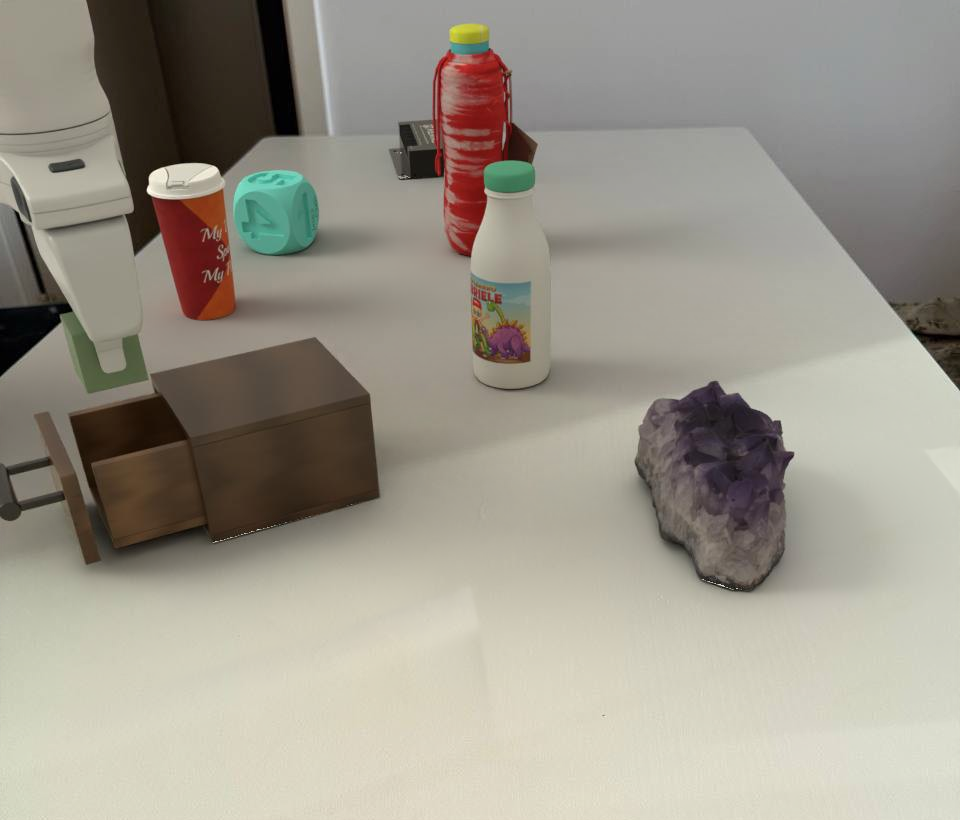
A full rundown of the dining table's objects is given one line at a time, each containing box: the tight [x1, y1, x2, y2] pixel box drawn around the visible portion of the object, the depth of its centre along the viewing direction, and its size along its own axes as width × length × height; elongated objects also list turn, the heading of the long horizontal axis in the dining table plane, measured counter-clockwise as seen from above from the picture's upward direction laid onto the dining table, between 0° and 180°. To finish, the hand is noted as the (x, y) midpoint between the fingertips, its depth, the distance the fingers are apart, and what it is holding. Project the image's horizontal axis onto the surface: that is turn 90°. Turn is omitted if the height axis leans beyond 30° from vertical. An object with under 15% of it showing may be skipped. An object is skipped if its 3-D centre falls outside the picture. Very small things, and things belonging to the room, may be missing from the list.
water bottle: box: [431, 23, 539, 257], centre depth 134 cm, size 12×8×25 cm, turn 95°
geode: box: [633, 380, 795, 591], centre depth 89 cm, size 20×12×10 cm, turn 6°
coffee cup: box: [146, 162, 236, 321], centre depth 124 cm, size 8×8×15 cm
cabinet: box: [149, 336, 381, 543], centre depth 95 cm, size 15×13×10 cm
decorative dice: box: [232, 169, 320, 256], centre depth 142 cm, size 8×8×8 cm
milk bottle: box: [470, 161, 552, 390], centre depth 107 cm, size 8×8×20 cm
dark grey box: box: [388, 118, 444, 179], centre depth 164 cm, size 20×14×17 cm
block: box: [59, 311, 149, 395], centre depth 85 cm, size 5×5×5 cm
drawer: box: [0, 392, 207, 566], centre depth 91 cm, size 18×11×8 cm, turn 117°
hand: (104, 354), depth 85 cm, fingers closed on block, 4 cm apart
